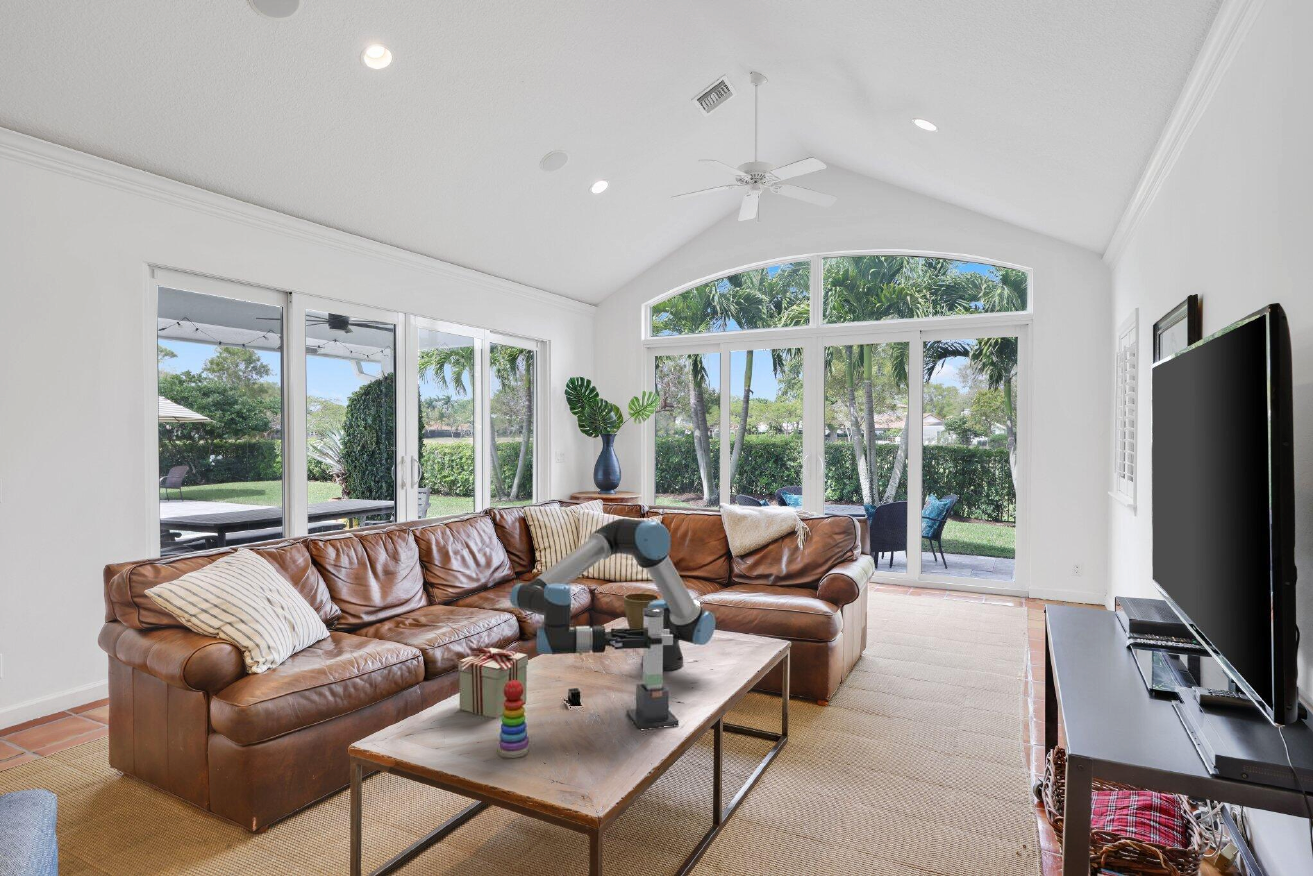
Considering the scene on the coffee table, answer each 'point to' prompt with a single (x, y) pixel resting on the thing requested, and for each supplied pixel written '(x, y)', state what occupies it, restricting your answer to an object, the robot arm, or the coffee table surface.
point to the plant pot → (637, 608)
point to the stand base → (651, 709)
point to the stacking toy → (513, 723)
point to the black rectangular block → (573, 697)
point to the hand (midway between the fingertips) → (670, 637)
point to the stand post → (653, 650)
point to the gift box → (490, 679)
